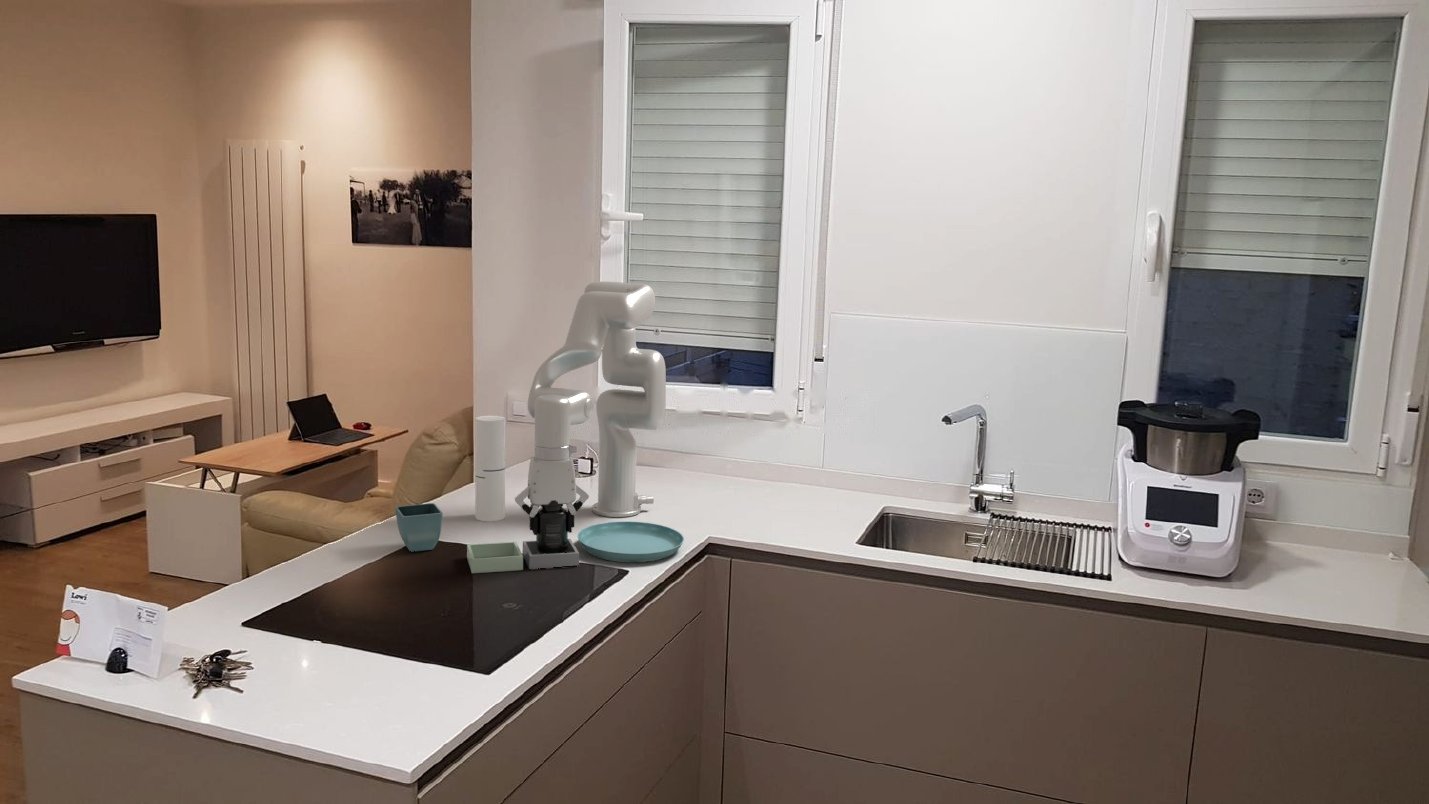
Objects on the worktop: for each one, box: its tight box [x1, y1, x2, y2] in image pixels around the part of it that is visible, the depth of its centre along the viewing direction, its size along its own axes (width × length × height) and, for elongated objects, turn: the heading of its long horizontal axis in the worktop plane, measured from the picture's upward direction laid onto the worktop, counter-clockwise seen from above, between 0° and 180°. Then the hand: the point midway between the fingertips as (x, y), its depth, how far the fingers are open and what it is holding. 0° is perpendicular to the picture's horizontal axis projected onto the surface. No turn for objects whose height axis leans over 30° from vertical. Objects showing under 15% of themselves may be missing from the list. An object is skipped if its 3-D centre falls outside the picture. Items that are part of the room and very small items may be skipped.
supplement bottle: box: [535, 500, 569, 554], centre depth 229 cm, size 7×7×12 cm
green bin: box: [466, 541, 524, 574], centre depth 226 cm, size 11×11×3 cm
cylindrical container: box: [474, 415, 506, 522], centre depth 259 cm, size 7×7×25 cm
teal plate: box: [577, 521, 685, 563], centre depth 240 cm, size 24×24×3 cm
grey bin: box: [522, 538, 580, 570], centre depth 230 cm, size 11×11×3 cm
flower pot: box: [394, 502, 444, 553], centre depth 234 cm, size 9×9×9 cm
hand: (551, 531), depth 230 cm, fingers closed on supplement bottle, 6 cm apart
